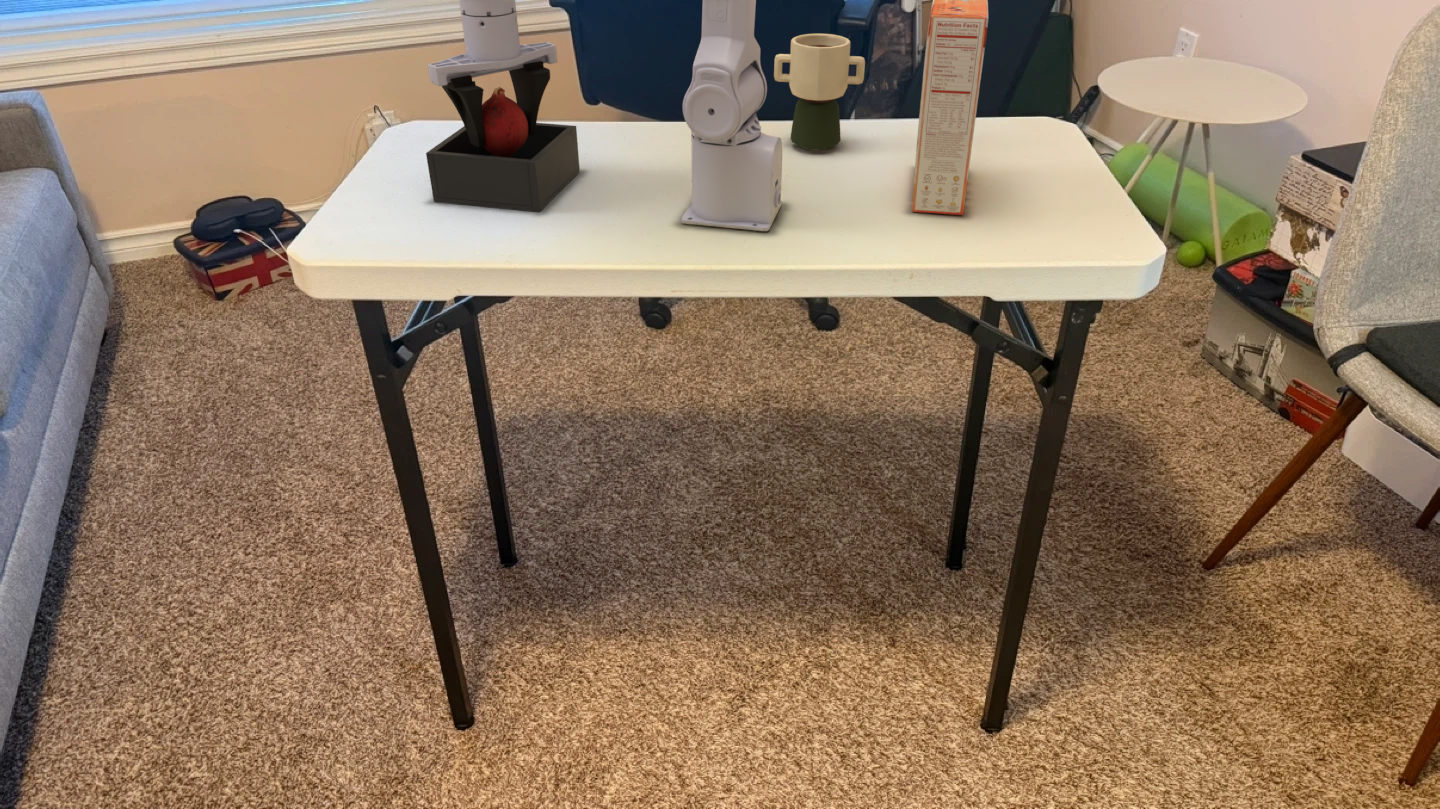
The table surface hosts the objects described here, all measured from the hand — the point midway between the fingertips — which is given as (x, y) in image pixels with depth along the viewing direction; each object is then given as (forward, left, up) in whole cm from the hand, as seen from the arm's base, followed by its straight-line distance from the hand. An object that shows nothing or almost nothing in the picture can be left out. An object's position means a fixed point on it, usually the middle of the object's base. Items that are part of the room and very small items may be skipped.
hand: (503, 138), depth 113 cm
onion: (0, 0, -3) cm, 3 cm away
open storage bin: (0, 0, -6) cm, 6 cm away
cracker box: (-48, -10, -6) cm, 49 cm away
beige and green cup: (-32, -22, -6) cm, 39 cm away
